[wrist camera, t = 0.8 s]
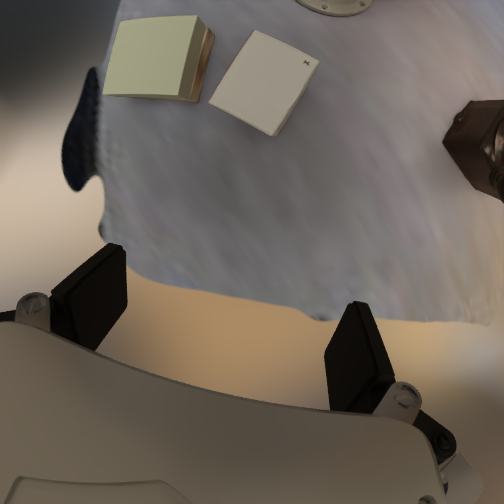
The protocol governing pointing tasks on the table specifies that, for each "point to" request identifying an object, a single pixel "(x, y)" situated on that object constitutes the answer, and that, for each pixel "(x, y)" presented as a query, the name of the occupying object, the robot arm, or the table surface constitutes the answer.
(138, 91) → the tower top block
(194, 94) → the tower base block
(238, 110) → the small box
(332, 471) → the robot arm
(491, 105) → the manual coffee grinder
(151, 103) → the table surface
